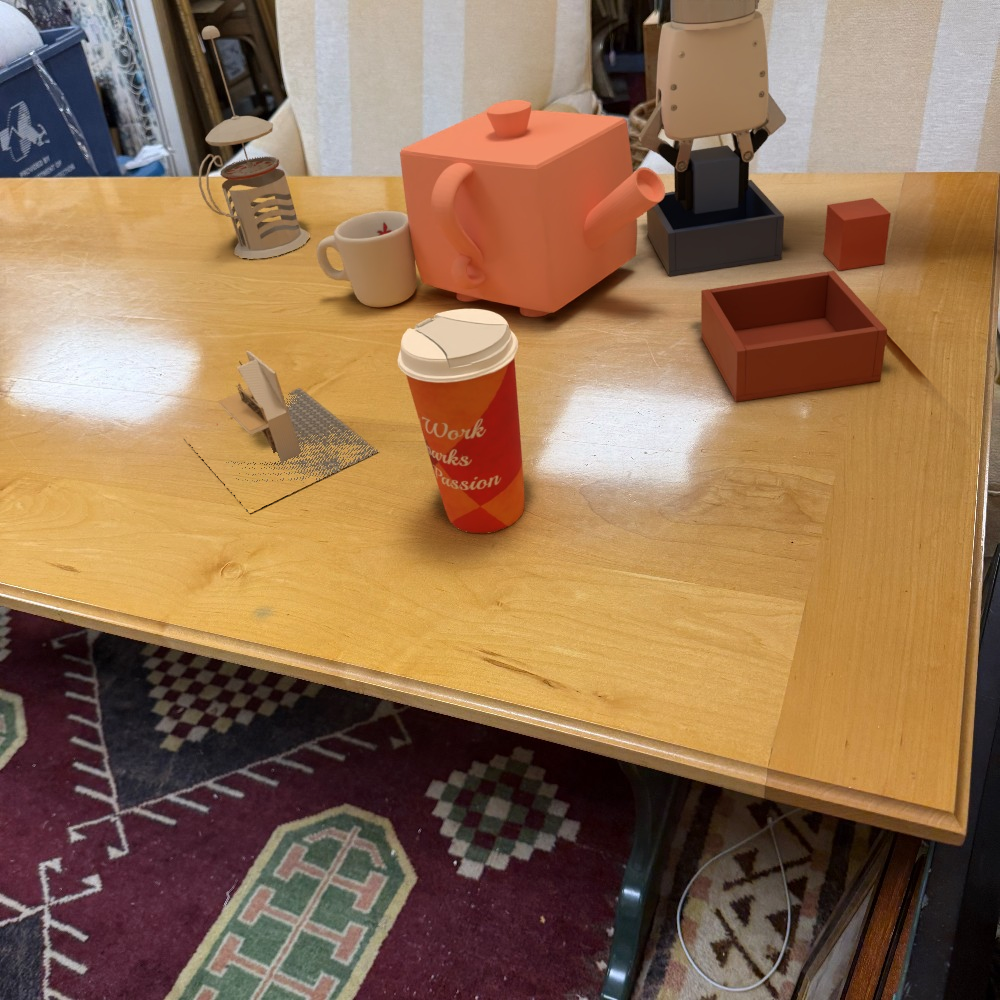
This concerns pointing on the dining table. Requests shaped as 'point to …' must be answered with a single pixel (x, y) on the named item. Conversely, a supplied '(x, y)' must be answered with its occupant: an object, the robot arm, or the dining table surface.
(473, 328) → the paper cup
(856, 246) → the red block
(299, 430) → the architectural model
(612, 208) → the teapot
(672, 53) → the robot arm
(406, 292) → the cup
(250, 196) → the french press
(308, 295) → the dining table surface
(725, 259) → the slate bin
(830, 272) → the terracotta bin
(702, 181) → the slate block
